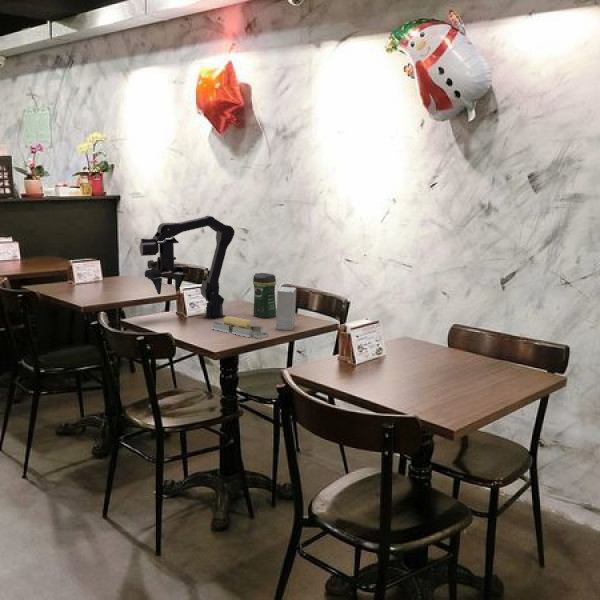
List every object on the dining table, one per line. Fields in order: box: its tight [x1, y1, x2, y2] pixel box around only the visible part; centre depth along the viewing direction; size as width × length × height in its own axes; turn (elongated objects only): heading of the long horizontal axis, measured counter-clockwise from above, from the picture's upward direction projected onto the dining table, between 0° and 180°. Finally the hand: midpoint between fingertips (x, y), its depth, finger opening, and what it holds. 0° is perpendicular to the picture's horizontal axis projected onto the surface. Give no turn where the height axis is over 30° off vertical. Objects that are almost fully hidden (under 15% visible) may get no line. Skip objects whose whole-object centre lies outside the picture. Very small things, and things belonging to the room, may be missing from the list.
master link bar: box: [223, 315, 252, 330], centre depth 253 cm, size 3×12×4 cm, turn 50°
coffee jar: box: [252, 272, 277, 319], centre depth 279 cm, size 10×8×19 cm
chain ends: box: [212, 321, 270, 340], centre depth 252 cm, size 8×24×3 cm, turn 50°
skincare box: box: [275, 286, 297, 331], centre depth 258 cm, size 8×7×16 cm
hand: (168, 292), depth 268 cm, fingers open, 9 cm apart
